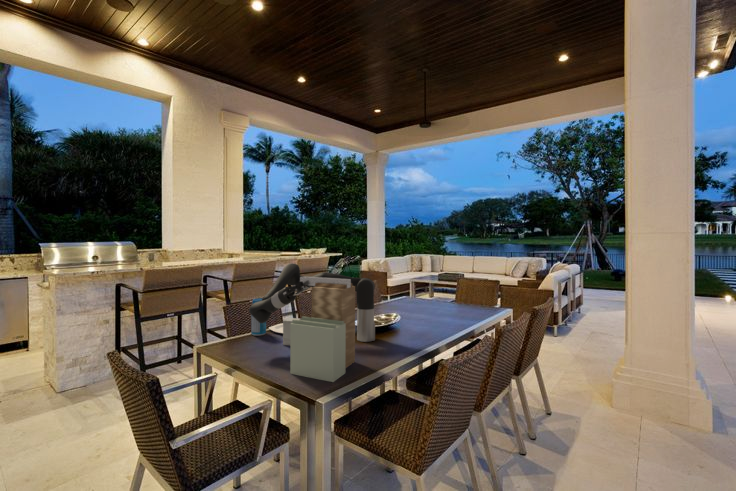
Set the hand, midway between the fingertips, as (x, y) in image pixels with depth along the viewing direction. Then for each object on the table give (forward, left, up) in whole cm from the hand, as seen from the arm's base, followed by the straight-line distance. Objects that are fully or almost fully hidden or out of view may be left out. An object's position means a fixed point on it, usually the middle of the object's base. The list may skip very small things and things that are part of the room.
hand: (308, 282), depth 161 cm
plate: (+6, -54, -36) cm, 65 cm away
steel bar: (-7, +5, -1) cm, 9 cm away
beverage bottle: (+26, -48, -35) cm, 65 cm away
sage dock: (-3, +18, -35) cm, 40 cm away
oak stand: (-11, +8, -35) cm, 38 cm away
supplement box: (+7, -26, -35) cm, 44 cm away
